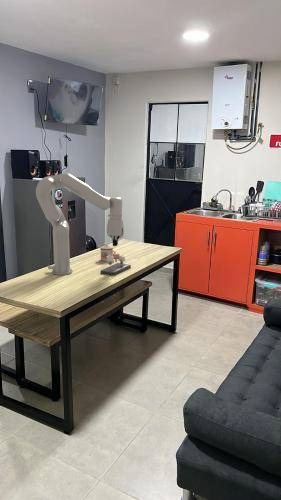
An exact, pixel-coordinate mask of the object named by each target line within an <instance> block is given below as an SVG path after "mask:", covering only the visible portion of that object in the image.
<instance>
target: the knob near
mask: <svg viewBox="0 0 281 500" xmlns="http://www.w3.org/2000/svg"><path fill="white" fill-rule="evenodd" d="M106 262H108V266H112V265H113V263H112V262H115V259H114V256H107V261H106Z"/></svg>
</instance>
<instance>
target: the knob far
mask: <svg viewBox="0 0 281 500" xmlns="http://www.w3.org/2000/svg"><path fill="white" fill-rule="evenodd" d="M118 261H119V263H120V264H124V262H125V261H126V256H125V255H119V259H117V262H118Z"/></svg>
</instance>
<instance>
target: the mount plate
mask: <svg viewBox="0 0 281 500" xmlns="http://www.w3.org/2000/svg"><path fill="white" fill-rule="evenodd" d="M131 266H132V265H131V264H127V263H123V264H120V262H115V264H112V265H109V266H108V267H105V268H103V269H100V274H101V275H108V276H113V277H115V276H117V275H119V274H121V273H124V272H125V271H127V270H129V269H131V268H132V267H131Z"/></svg>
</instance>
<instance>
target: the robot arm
mask: <svg viewBox="0 0 281 500" xmlns="http://www.w3.org/2000/svg"><path fill="white" fill-rule="evenodd" d="M63 188H64V189H66V190H68V191H69V192H72V193H73V194H75V195H77V196H78V197H80V198H81V199H83V200H85V201H86V202H88V203H90V204H92V206H95V207H96V208H97V209H99V210H101V211H107V210H109V214H107V217H108V219H107V224H106V225H107V226H106V235H107V236H108V237H110V238H111V240H112V247H117V246H118V245H119V240H120V238H121V239H122V238H124V232H125V230H124V221H123V219H122V217H123V216H122V215H123V214H122V211H123V199H122V197H118V196H112V197H111V196H103V195H102V194H100V193H99V192H97V191H96V190H94V189H92V187H91V186H89V185H88V184H87V183H85V182H83V181H82V180H80V179H78V178H77V177H75V176H74V175H72V174H71V173H69V172H63V173H59V174H53V175H49V176H45V177H43V178H41V179H40V181H39V182H38V183H37V185H36V188H35V196H36V199H37V201H38V204H39V206H40V209H41V210H42V212H43V213H44V216H45V219H46V220H47V221H49V223H50V224H51V226H52V228H53V229H52V239H53V240H52V241H53V262H54V265H47V269H48V270H52V272H51V273H52V274H53V275H56V276H65V275H66V276H67V275H70V274H72V273H73V271H74V270H73V269H72V268H71V259H70V225H69V223H68V220H67V219H66V217H65V214H64V213H63V211H62V209H61V208H60V207H59V206H57V205H56V203H55V200H54V198H53V197H52V194H51V192H52V191H53V190H56V189H57V190H59V189H63Z"/></svg>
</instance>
